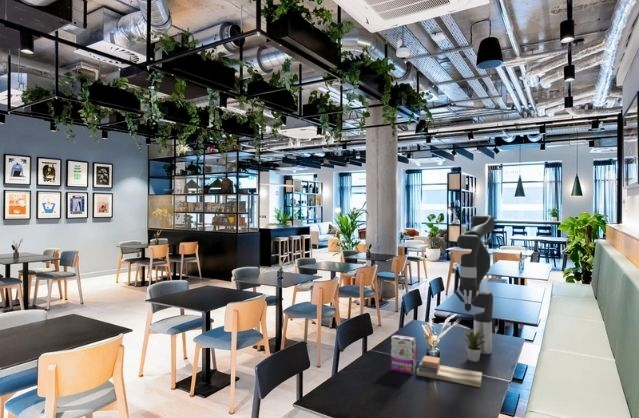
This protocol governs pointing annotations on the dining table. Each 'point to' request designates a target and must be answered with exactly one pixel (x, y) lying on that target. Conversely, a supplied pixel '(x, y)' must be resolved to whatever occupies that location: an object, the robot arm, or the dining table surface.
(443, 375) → the board
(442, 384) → the dining table surface
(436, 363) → the carton
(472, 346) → the house plant
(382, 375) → the dining table surface
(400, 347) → the candy bar box
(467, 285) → the robot arm
